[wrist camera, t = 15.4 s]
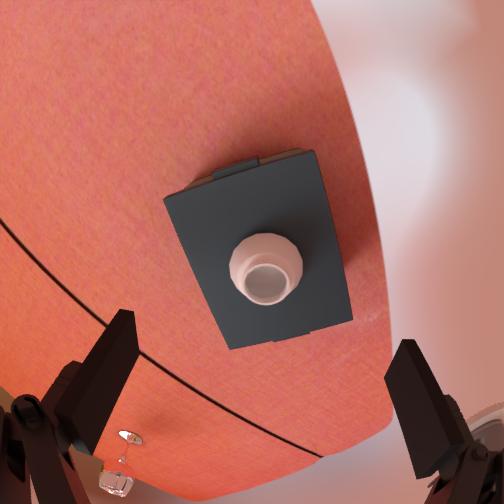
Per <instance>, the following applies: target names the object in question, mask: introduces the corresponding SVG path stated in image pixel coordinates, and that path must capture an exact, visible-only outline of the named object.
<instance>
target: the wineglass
mask: <svg viewBox="0 0 504 504" xmlns="http://www.w3.org/2000/svg"><path fill="white" fill-rule="evenodd" d="M119 435H120V437H121V438H122V439H124V440H125V441H127V445H126V448H125V451H124V452H123V454H122V455H121V460H119V459H110V460H107V461H106V462H105V463H104V464H103V466H102V468H101V472H100V478H99V486H100V487H101V488H102V489H104V490H106V491H107V492H110V493H112V494H115V495H118V496H126V494H127V493H128V492H129V490H130V488H131V487H132V485H133V482H134V477H135V474H134V471H133V469H132V467H131V466H130V465H129V464H127V463H126V462H124V461H125V460H126V458H127V450H128V448H129V445H130V444H131V443H132V444H141V443H142V439H141V438H140V437H139V436H137V435H136V434H134V433H131V432H128V431H121V432H120V433H119Z"/></svg>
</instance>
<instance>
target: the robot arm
mask: <svg viewBox="0 0 504 504" xmlns="http://www.w3.org/2000/svg"><path fill="white" fill-rule="evenodd" d="M139 355H140V352H139V346H138V339H137V331H136V324H135V315H134V311H129V310H124V309H119V311H118V312H117V313H116V315H115V316H114V318H113V319H112V321H111V322H110V323H109V325H108V326H107V328H106V329H105V331H104V332H103V333H102V335H101V336H100V338H99V339H98V341H97V342H96V344H95V345H94V347H93V348H92V350H91V351H90V353H89V354H88V356H87V357H86V359H85V360H84V362H83V363H80V362H77V361H74V360H73V361H72V362H70V363H69V364H67V365H66V366H64V368H63V369H62V371H61V372H60V373H59V376H58V377H57V378H56V379H55V381H54V384H52V385H51V387H50V388H49V390H48V391H47V393H46V394H45V396H44V397H43V399H42V400H41V402H40V401H39V399H38V398H36V397H35V396H33V395H30V394H24V395H21V396H18V397H17V398H16V399H15V400H14V401H13V403H12V405H11V412H12V413H8V412H5V411H4V409H3V408H2V407H1V406H0V504H32V503H31V489H30V475H31V479H32V482H33V486H34V489H35V492H36V496H37V498H38V502H39V504H91V503H90V501H89V499H88V497H87V494H86V492H85V490H84V487H83V485H82V482H81V480H80V478H79V475H78V472H77V470H76V467H75V465H74V462H73V459H72V456H71V453H70V451H69V450H68V449H69V447H70V445H71V443H72V444H73V446H74V448H75V449H76V450H78V451H80V452H83V453H86V454H88V455H91V456H92V455H93V453H94V451H95V448H96V446H97V444H98V441H99V439H100V437H101V435H102V432H103V430H104V428H105V426H106V424H107V421H108V419H109V417H110V415H111V413H112V411H113V408H114V406H115V404H116V402H117V400H118V398H119V396H120V393H121V391H122V389H123V387H124V385H125V383H126V381H127V379H128V377H129V375H130V373H131V371H132V369H133V367H134V365H135V363H136V361H137V359H138V357H139ZM384 380H385V382H386V385H387V388H388V391H389V394H390V397H391V399H392V402H393V405H394V408H395V411H396V414H397V417H398V420H399V423H400V426H401V429H402V432H403V435H404V439H405V442H406V445H407V448H408V452H409V455H410V458H411V461H412V465H413V469H414V472H415V475H416V479H421V478H426V477H430V476H432V475H433V474H434V473H435V472H436V471H437V470H438V471H439V474H440V475H439V476H438V477H437V478H435V479H434V480H433V481H432V482H431V483H430V484H429V485H428V488H429V487H430V486H432V485H433V484H434V485H433V487H432V489H431V491H430V493H429V495H428V497H427V499H426V501H425V503H424V504H504V425H503V423H502V421H501V420H499V419H496V420H492V421H489V422H487V423H485V424H483V425H481V426H479V427H478V428H476V429H474V430H473V431H471V432H470V430H469V427H468V425H467V423H466V421H465V419H464V418H463V415H462V413H461V412H460V409H459V407H458V405H457V403H456V401H455V400H454V399H453V398H452V397H451V396H450V395H449V394H448V395H443V393H442V391H441V389H440V387H439V385H438V383H437V381H436V379H435V377H434V375H433V373H432V371H431V369H430V367H429V365H428V363H427V362H426V360H425V358H424V356H423V354H422V352H421V350H420V348H419V347H418V345H417V343H416V341H415V340H414V339H402V341H401V343H400V346H399V347H398V350H397V352H396V354H395V356H394V358H393V360H392V362H391V364H390V366H389V369H388V371H387V373H386V375H385V377H384Z"/></svg>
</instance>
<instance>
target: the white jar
mask: <svg viewBox="0 0 504 504" xmlns="http://www.w3.org/2000/svg"><path fill="white" fill-rule="evenodd" d="M229 268H230V276H231V279H232V281H233V282H234V284H235V286H236V287H237V289H238V290H239V291H240V292H241V293H243V294H244V295H245V296H246V297H247V298H248V299H249V300H251V301H252V302H254V303H256V304H260V305H272V304H276V303H278V302H280V301H282V300H283V299H284V298H285V297H286V296H287V295H288V294H289V293H290V292H291V291H292V290H293V289H294V288H296V287H297V285H298V283H299V281H300V279H301V277H302V274H303V261H302V258H301V256H300V253H299V251H298V249H297V247H296V246H295V245H294V244H293V243H291V242H290V241H289V240H288V239H287V238H285V237H282V236H279V235H276V234H273V233H260V234H255V235H253V236H250V237H248V238H246V239H244V240H243V241H242V242H241V243H240V244H239V245H238V246H237V247H236V248H235V249H234V251H233V254H232V257H231V260H230V263H229Z"/></svg>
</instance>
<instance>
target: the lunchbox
mask: <svg viewBox="0 0 504 504" xmlns="http://www.w3.org/2000/svg"><path fill="white" fill-rule="evenodd" d="M163 201H164V203H165V206H166V208H167V211H168V213H169V216H170V218H171V221H172V223H173V225H174V228H175V230H176V233H177V235H178V237H179V240H180V242H181V245H182V247H183V249H184V252H185V254H186V256H187V258H188V261H189V263H190V265H191V268H192V270H193V272H194V274H195V277H196V279H197V281H198V283H199V286H200V288H201V290H202V292H203V294H204V297H205V299H206V301H207V303H208V305H209V308H210V310H211V312H212V314H213V316H214V318H215V320H216V322H217V325H218V327H219V329H220V331H221V333H222V335H223V337H224V339H225V341H226V343H227V345H228V347H229V349H230V350H232V349H237V348H242V347H247V346H251V345H256V344H261V343H265V342H270V341H273V342H277V341H281V340H286V339H290V338H294V337H298V336H302V335H306V334H310V332H311V331H315V330H319V329H323V328H326V327H330V326H334V325H337V324H341V323H344V322H348V321H351V320H353V315H352V309H351V304H350V298H349V293H348V288H347V283H346V278H345V273H344V268H343V263H342V258H341V254H340V249H339V244H338V240H337V236H336V231H335V227H334V223H333V219H332V214H331V210H330V206H329V202H328V198H327V195H326V191H325V187H324V183H323V179H322V176H321V172H320V169H319V165H318V161H317V158H316V154H315V151H314V150H312V149H311V150H307V151H303V150H302V149H300V148H297V149H294V150H290V151H287V152H283V153H280V154H276V155H273V156H270V157H266V158H263V159H260V160H259V158H258V156H254V157H251V158H247V159H244V160H241V161H238V162H235V163H232V164H229V165H226V166H223V167H220V168H217V169H215V170H214V171H213V172H212V173H211V175H210V176H207V177H205V178H202V179H199V180H196V181H193V182H191V183H190V184H189V185H188V186H186V187H185V188H184V189H183V190H181V191H178V192H176V193H173V194H170V195H168V196H166V197H165V198H164V199H163ZM260 233H273V234H276V235H279V236H282V237H285V238H287V239H288V240H289V241H290V242H291V243H293V244H294V245H295V246H296V247H297V249H298V251H299V253H300V256H301V258H302V261H303V274H302V277H301V279H300V281H299V283H298V285H297V287H296V288H294V289H293V290H292V291H291V292H290V293H289V294H288V295H287V296H286V297H285V298H284V299H283V300H282V301H280V302H278V303H276V304H272V305H260V304H256V303H254V302H252V301H251V300H249V299H248V298H247V297H246V296H245V295H244V294H243V293H241V292H240V291H239V290H238V289H237V287H236V286H235V284H234V282H233V281H232V279H231V276H230V268H229V263H230V260H231V257H232V254H233V251H234V249H235V248H236V247H237V246H238V245H239V244H240V243H241V242H242V241H243V240H244V239H246V238H248V237H250V236H253V235H255V234H260Z"/></svg>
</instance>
